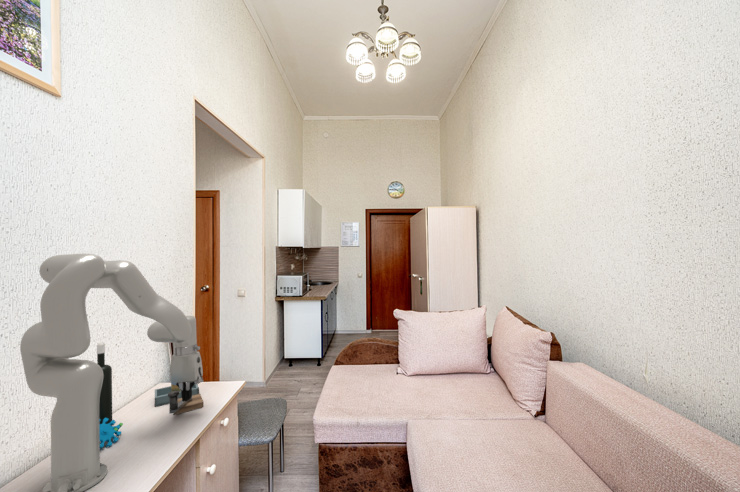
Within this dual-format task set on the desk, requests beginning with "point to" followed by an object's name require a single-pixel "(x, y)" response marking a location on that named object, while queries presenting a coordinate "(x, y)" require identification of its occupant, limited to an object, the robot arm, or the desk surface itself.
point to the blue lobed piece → (108, 432)
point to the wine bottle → (105, 386)
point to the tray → (162, 395)
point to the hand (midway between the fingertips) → (186, 399)
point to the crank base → (191, 404)
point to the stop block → (175, 388)
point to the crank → (175, 402)
